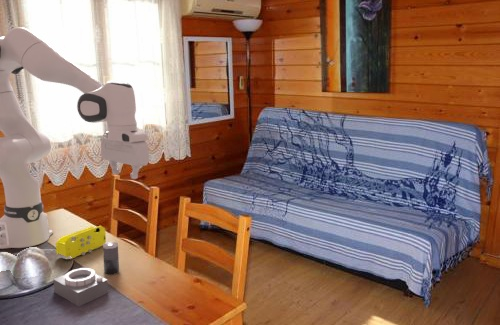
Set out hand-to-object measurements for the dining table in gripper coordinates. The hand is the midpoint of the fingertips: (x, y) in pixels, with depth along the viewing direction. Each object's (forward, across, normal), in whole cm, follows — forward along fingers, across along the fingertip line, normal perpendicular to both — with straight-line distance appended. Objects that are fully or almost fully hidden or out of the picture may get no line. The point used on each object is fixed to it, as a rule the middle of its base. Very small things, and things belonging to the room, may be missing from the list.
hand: (124, 176), depth 132 cm
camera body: (+28, +8, -22) cm, 37 cm away
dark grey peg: (+28, +4, -10) cm, 30 cm away
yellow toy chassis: (+28, -16, -7) cm, 33 cm away
